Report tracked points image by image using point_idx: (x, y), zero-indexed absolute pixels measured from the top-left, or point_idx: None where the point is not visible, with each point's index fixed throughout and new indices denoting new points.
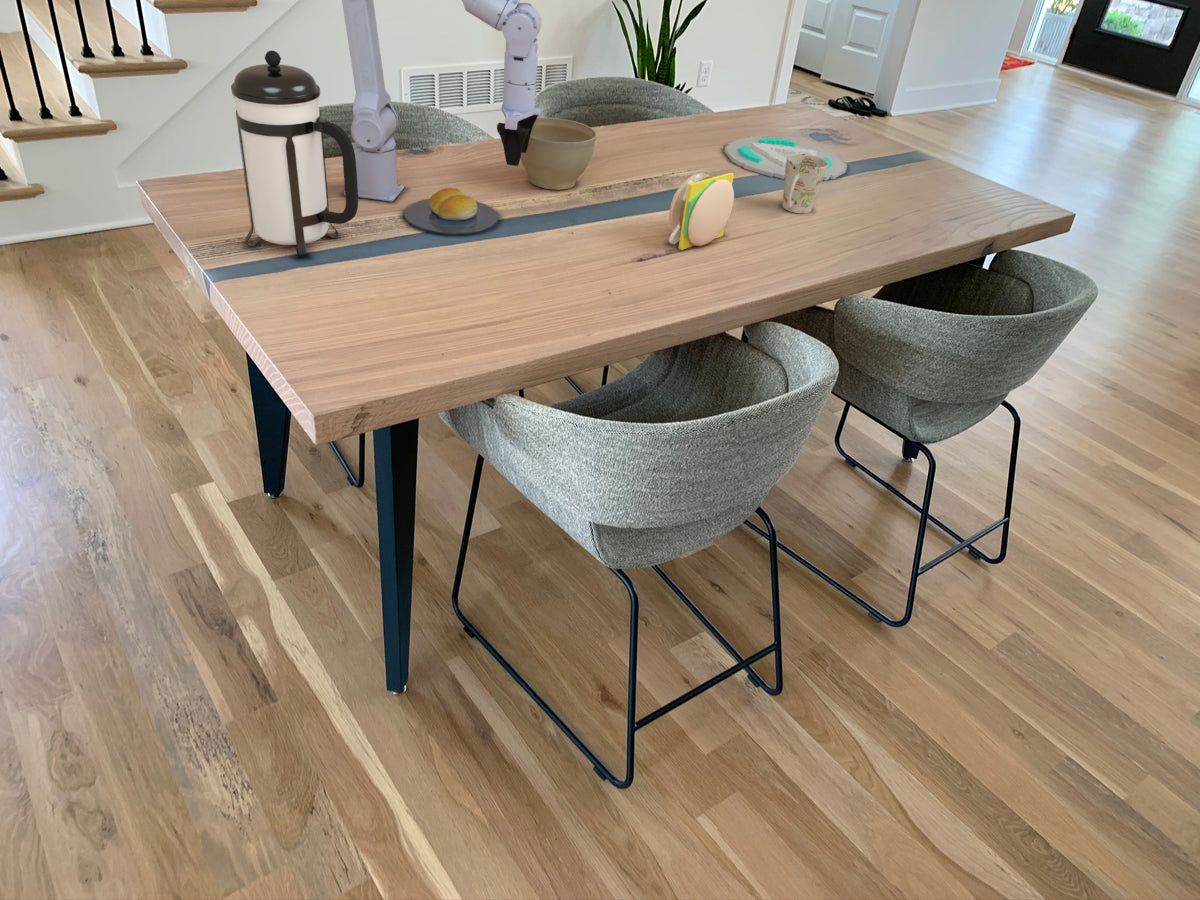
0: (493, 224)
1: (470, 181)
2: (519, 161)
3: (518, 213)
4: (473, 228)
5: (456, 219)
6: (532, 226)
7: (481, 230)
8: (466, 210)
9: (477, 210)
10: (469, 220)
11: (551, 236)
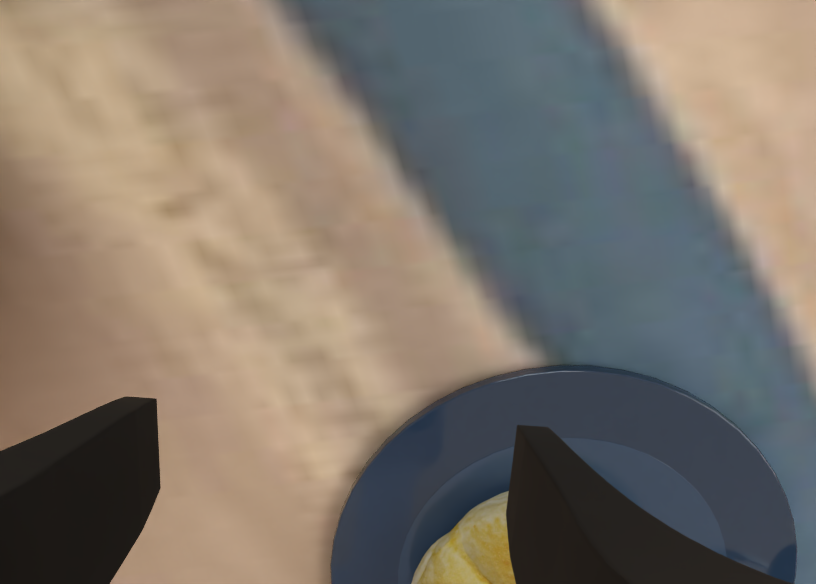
0: (652, 383)
1: None
2: (538, 434)
3: (414, 271)
4: (724, 468)
5: None
6: (593, 172)
7: (738, 428)
8: None
9: (475, 481)
10: None
11: (729, 40)
